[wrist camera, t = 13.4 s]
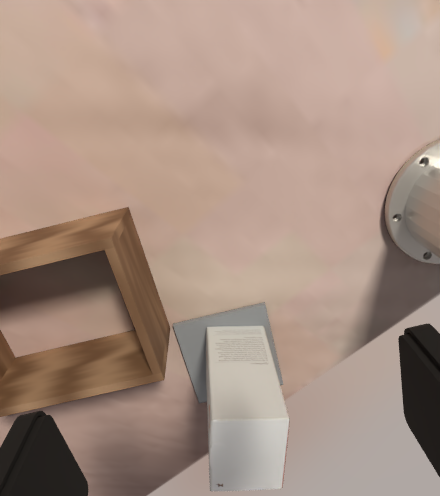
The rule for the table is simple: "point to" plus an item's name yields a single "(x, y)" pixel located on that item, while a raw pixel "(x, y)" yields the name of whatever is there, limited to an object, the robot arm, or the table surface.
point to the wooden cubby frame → (94, 351)
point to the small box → (244, 411)
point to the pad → (194, 340)
